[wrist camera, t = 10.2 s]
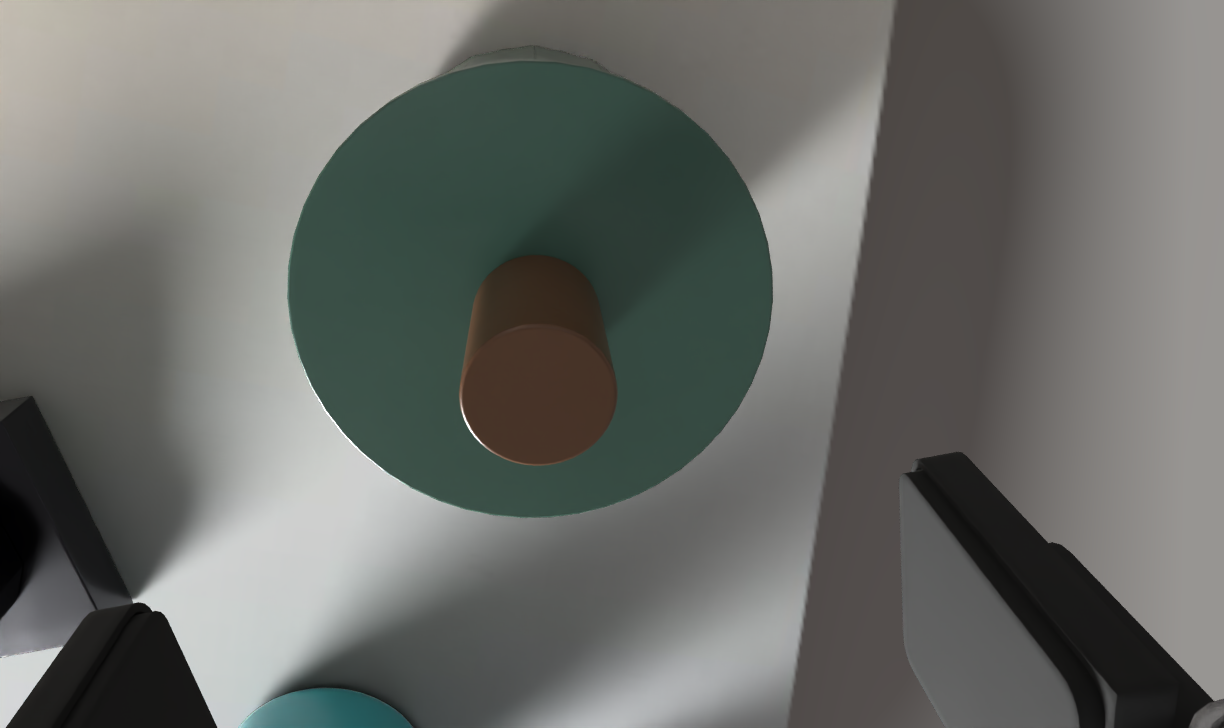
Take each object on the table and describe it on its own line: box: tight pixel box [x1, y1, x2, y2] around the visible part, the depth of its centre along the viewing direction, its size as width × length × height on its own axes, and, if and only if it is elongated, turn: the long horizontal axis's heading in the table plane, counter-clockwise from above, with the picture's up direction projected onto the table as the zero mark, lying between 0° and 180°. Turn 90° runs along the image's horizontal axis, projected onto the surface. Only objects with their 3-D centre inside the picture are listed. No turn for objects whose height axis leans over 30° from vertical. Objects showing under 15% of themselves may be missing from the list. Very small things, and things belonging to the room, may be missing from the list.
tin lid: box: [287, 59, 773, 518], centre depth 19 cm, size 11×11×6 cm
